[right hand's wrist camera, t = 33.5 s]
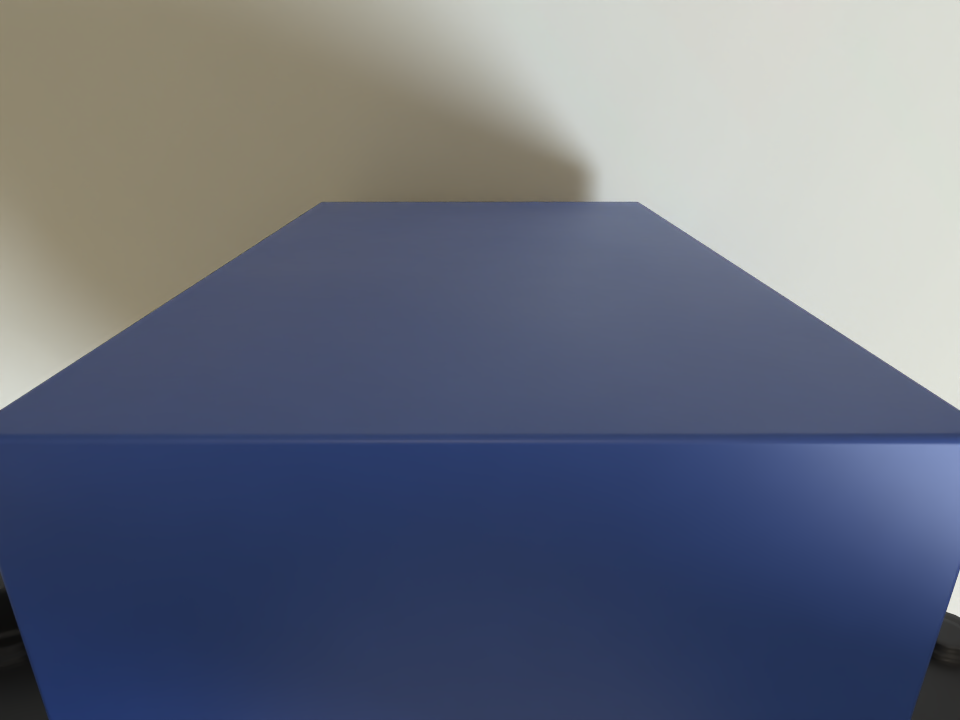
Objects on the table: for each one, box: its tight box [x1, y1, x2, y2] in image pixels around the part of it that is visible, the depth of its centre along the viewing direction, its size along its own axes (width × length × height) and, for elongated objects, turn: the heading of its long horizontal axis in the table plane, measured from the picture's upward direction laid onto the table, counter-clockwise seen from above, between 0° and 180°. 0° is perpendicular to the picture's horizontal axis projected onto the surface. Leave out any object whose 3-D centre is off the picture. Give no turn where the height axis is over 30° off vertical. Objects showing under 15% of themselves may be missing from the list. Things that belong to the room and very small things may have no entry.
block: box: [0, 202, 960, 720], centre depth 12 cm, size 9×8×12 cm
